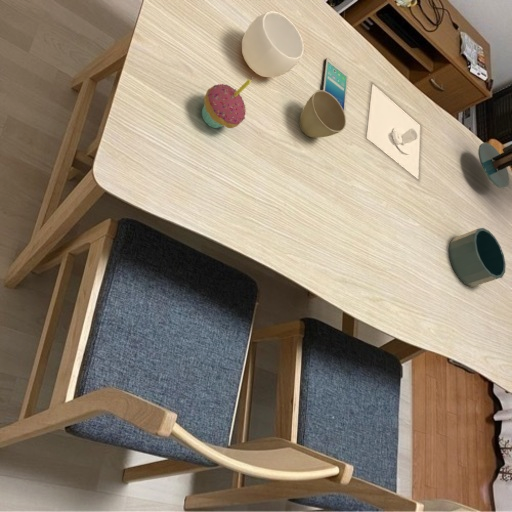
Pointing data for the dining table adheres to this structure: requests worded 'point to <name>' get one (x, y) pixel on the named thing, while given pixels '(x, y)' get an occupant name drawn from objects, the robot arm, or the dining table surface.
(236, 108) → the cupcake
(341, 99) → the smartphone
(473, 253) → the bowl
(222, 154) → the dining table surface
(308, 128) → the flower pot
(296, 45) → the cup
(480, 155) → the lid
